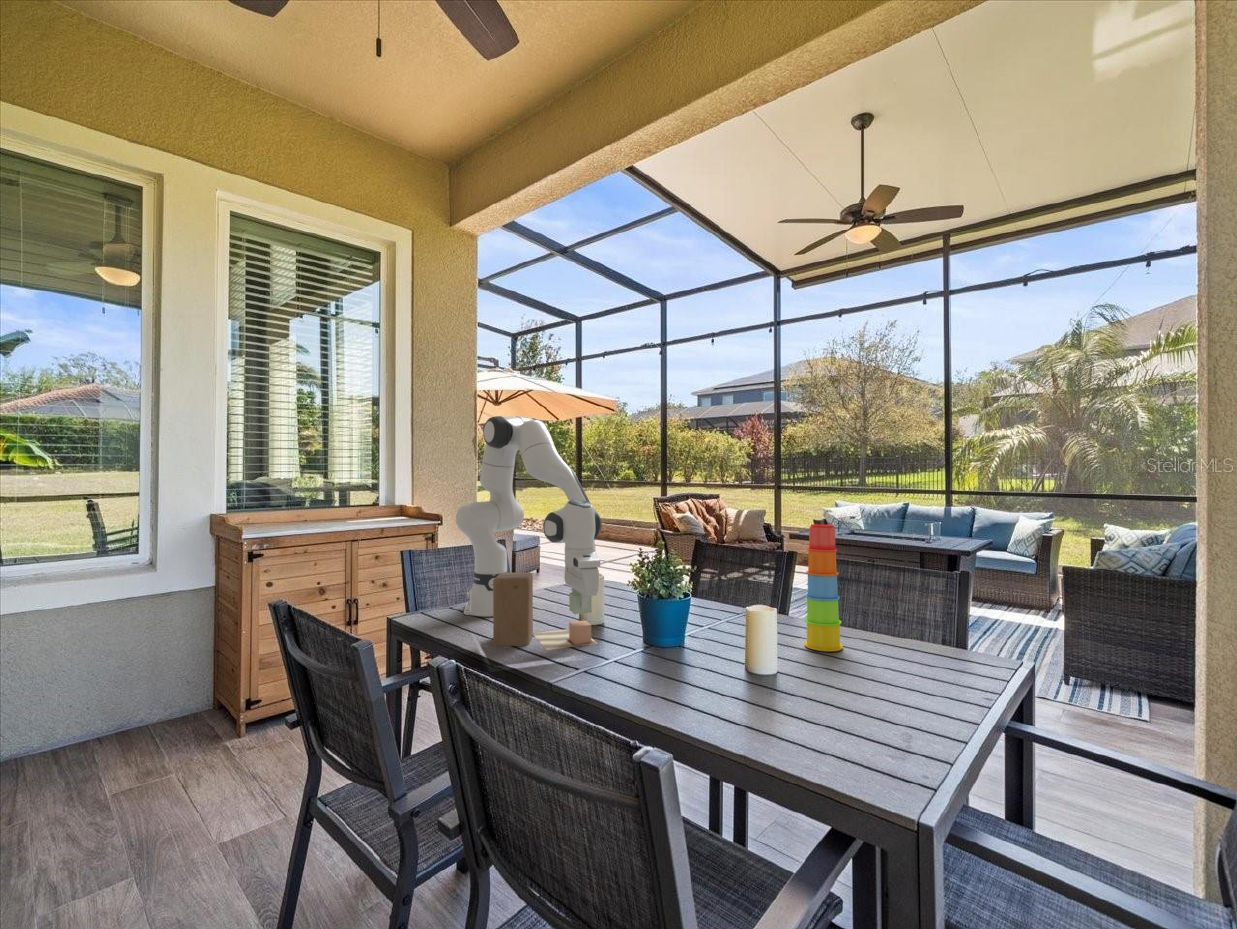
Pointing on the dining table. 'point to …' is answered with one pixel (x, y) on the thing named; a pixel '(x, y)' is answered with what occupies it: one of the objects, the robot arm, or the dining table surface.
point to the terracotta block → (580, 632)
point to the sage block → (578, 603)
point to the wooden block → (513, 609)
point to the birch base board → (557, 639)
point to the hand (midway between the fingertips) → (580, 605)
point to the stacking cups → (822, 590)
